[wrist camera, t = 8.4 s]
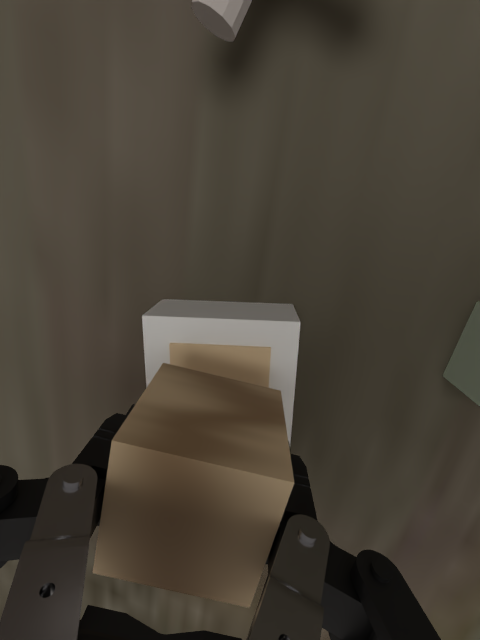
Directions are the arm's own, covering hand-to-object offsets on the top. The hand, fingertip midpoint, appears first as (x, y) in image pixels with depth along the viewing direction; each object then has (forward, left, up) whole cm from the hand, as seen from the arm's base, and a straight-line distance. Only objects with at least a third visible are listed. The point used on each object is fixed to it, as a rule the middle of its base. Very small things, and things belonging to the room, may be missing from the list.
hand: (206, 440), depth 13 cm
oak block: (0, 0, -1) cm, 1 cm away
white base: (0, 0, -8) cm, 8 cm away
